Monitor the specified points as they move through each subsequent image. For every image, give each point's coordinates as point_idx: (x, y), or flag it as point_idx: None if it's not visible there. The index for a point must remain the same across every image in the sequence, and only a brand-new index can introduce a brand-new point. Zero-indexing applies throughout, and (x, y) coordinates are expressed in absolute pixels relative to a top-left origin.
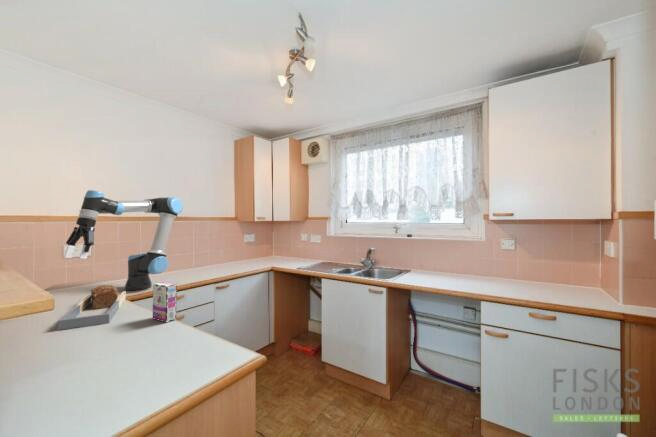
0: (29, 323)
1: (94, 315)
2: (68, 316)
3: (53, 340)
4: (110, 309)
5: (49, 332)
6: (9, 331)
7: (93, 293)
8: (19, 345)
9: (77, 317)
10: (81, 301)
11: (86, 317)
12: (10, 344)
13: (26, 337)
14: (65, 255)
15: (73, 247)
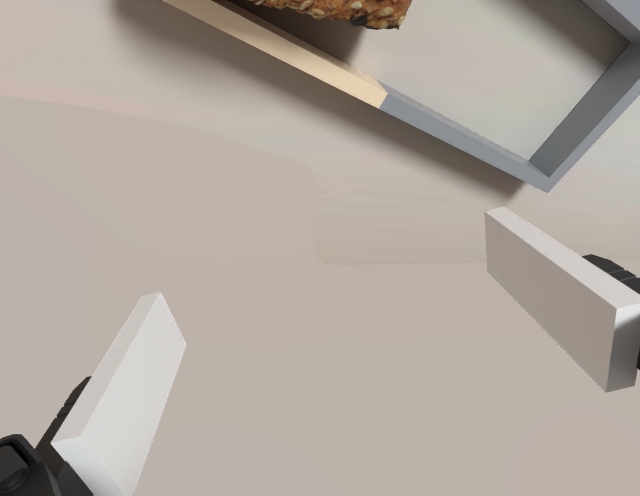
0: (354, 223)
1: (632, 93)
2: (510, 156)
3: (601, 192)
4: (632, 10)
5: (520, 192)
6: (395, 258)
7: (360, 20)
8: None
9: (582, 143)
10: (304, 67)
11: (614, 119)
12: None
13: None
14: (176, 361)
15: (103, 418)
